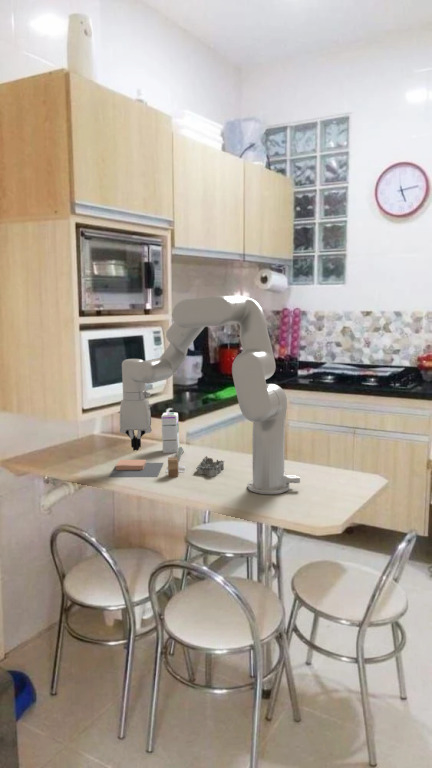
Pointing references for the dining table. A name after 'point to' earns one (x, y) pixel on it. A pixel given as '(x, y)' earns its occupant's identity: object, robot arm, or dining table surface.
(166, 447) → the syrup box
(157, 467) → the mat
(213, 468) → the egg carton
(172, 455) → the ceramic fragment
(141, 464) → the tile
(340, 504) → the dining table surface
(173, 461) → the turner
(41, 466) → the dining table surface
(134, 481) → the dining table surface
